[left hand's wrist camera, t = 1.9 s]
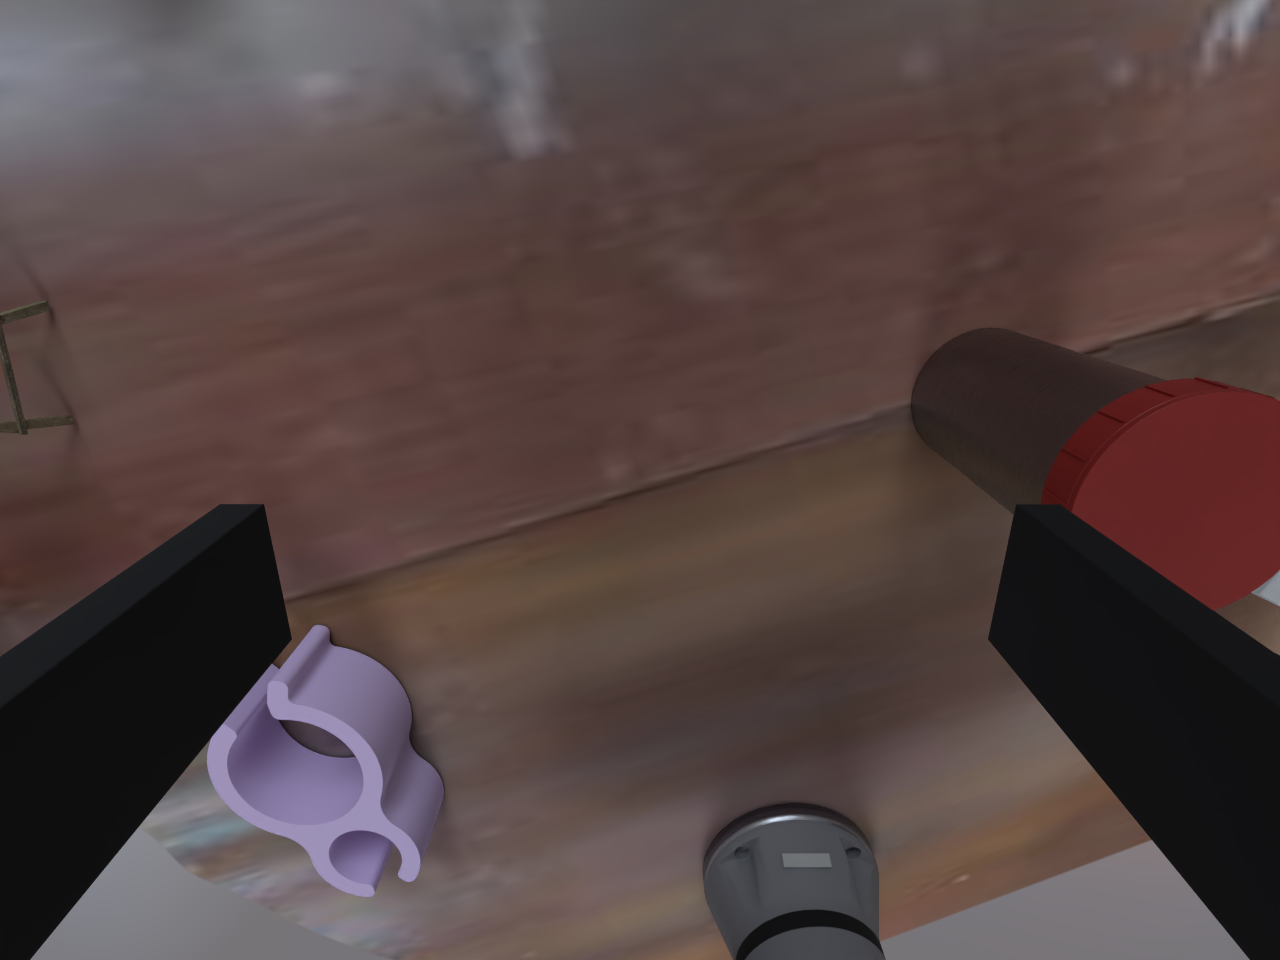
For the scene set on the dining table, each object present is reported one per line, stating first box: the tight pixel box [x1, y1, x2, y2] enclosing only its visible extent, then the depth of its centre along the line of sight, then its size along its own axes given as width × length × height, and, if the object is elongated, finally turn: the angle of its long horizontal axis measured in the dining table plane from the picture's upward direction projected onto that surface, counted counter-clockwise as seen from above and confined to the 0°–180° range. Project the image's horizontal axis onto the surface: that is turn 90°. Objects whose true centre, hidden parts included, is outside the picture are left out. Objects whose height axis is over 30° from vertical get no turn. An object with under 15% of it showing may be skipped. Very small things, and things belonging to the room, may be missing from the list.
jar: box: [911, 328, 1167, 515], centre depth 39 cm, size 9×9×20 cm
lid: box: [1041, 377, 1280, 611], centre depth 30 cm, size 10×10×2 cm
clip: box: [207, 625, 444, 897], centre depth 55 cm, size 20×12×7 cm, turn 26°
